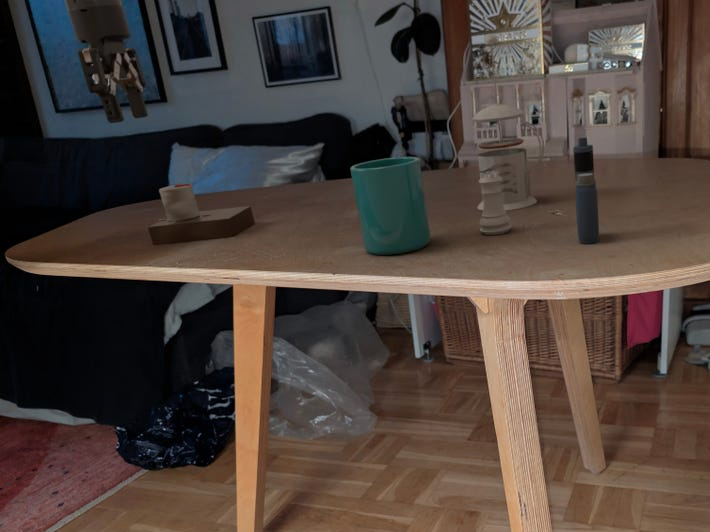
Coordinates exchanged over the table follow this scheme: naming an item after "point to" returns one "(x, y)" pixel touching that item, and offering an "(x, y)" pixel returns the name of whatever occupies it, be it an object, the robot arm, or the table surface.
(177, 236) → the panel
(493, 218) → the rook chess piece
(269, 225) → the table surface
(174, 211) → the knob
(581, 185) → the vaping device
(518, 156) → the french press
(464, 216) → the table surface
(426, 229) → the cup
